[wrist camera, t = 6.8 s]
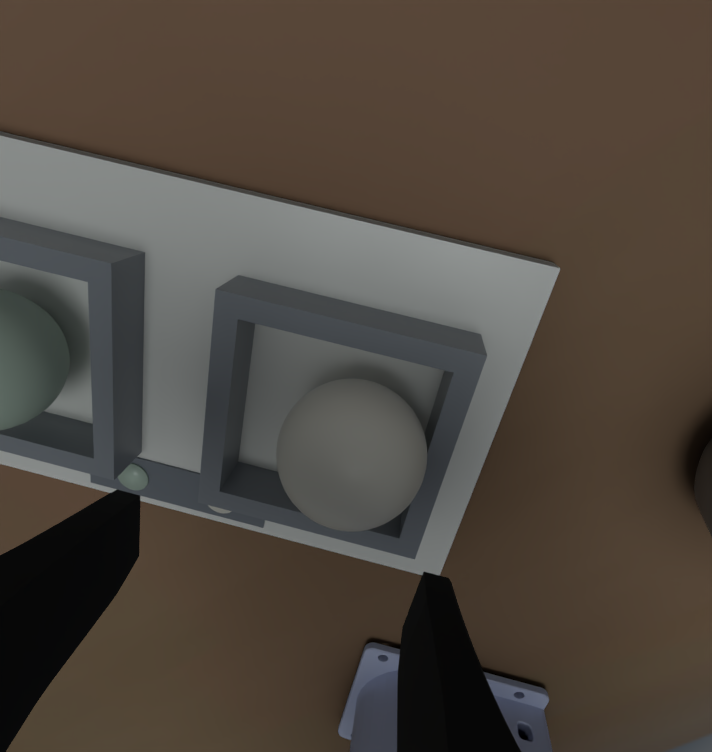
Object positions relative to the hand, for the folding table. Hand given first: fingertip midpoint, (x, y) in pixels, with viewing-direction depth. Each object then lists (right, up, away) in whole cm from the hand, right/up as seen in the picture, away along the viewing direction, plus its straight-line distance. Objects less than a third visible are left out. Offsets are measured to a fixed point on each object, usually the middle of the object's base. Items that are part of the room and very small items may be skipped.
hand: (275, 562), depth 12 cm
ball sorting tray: (-5, +5, +8) cm, 10 cm away
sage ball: (-11, +5, +5) cm, 13 cm away
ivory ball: (+2, +2, +4) cm, 5 cm away
